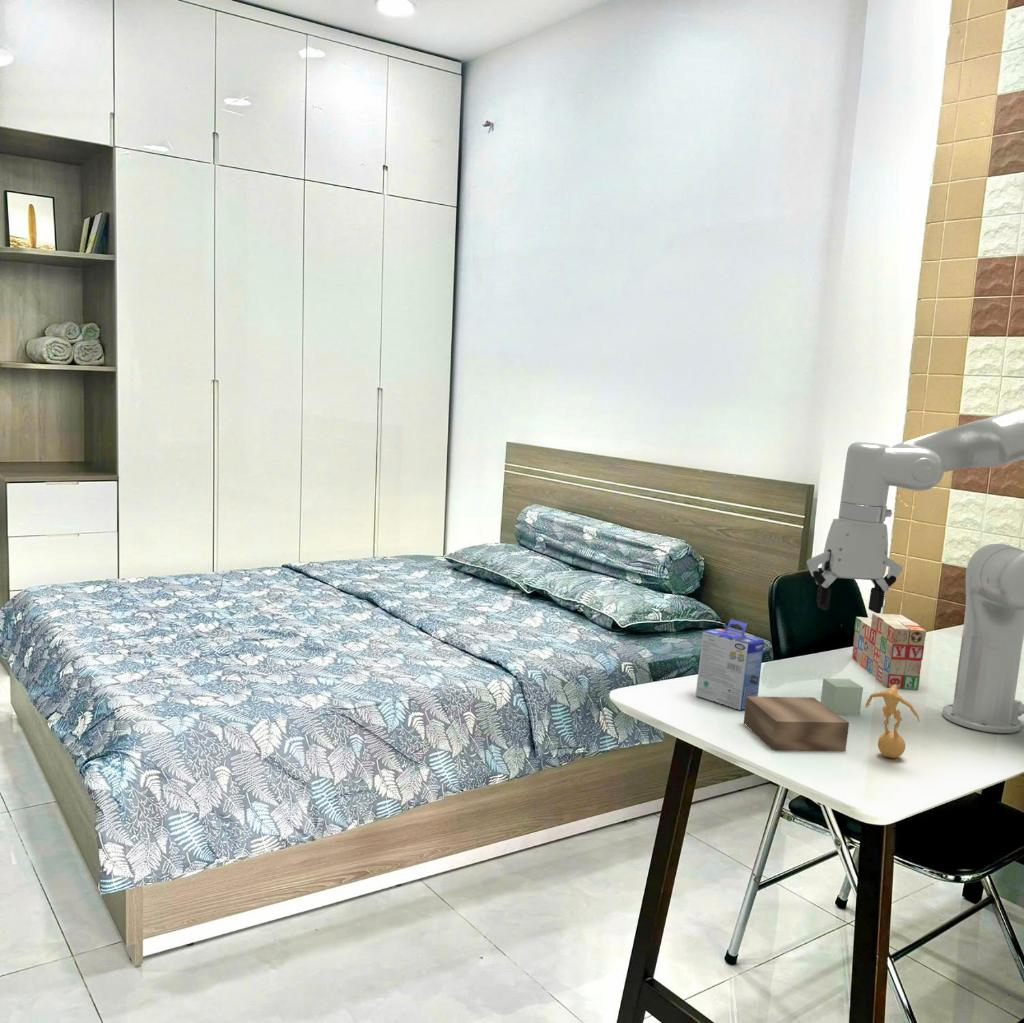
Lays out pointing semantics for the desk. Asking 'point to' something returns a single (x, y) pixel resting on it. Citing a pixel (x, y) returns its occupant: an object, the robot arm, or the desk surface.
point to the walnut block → (795, 724)
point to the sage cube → (842, 696)
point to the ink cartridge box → (729, 666)
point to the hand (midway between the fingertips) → (848, 610)
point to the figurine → (889, 741)
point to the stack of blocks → (890, 649)
